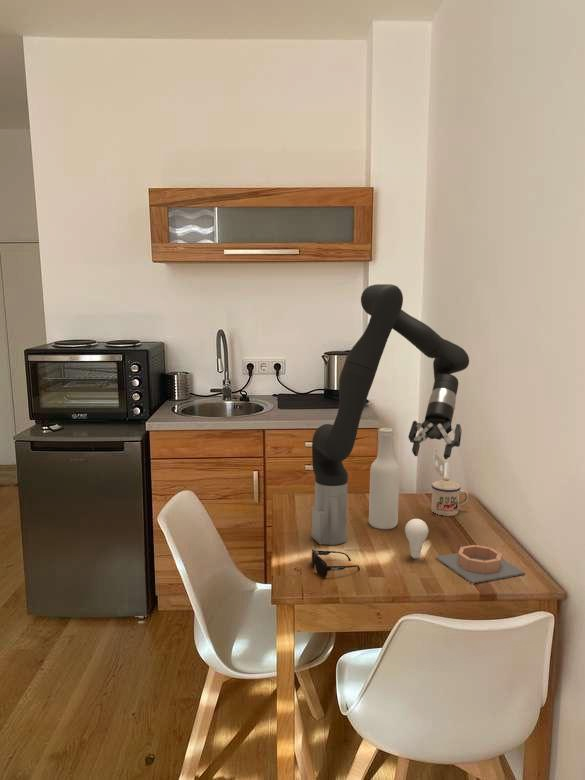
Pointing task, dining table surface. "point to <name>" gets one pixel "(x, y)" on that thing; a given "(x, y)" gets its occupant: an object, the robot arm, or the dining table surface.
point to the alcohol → (384, 485)
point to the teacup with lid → (446, 497)
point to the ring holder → (479, 564)
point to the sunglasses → (322, 565)
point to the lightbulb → (416, 536)
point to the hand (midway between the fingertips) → (430, 456)
